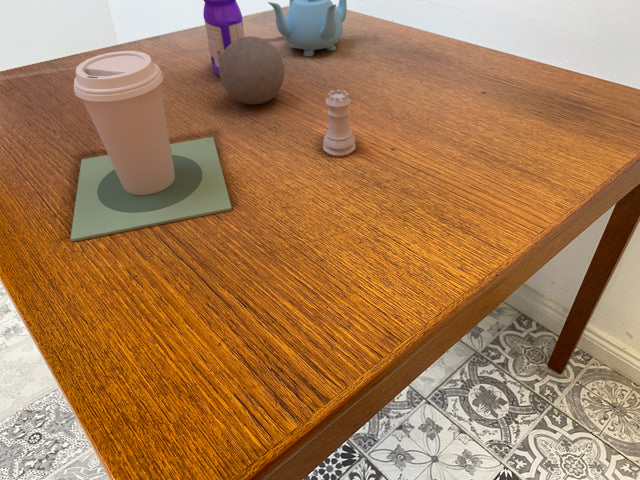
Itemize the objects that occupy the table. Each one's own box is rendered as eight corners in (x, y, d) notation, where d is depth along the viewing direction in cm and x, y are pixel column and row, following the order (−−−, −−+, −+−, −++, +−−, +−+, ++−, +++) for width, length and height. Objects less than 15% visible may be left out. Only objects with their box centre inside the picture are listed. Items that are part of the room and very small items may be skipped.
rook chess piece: (351, 159, 68) (350, 103, 63) (318, 156, 69) (315, 99, 64) (359, 143, 71) (359, 88, 66) (328, 139, 72) (326, 85, 67)
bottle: (255, 75, 91) (241, -34, 80) (226, 84, 89) (207, -28, 78) (236, 63, 96) (220, -42, 85) (208, 71, 94) (188, -36, 82)
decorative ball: (268, 83, 88) (261, 22, 82) (298, 103, 82) (293, 39, 75) (214, 99, 84) (202, 37, 78) (242, 122, 78) (232, 56, 71)
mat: (82, 161, 71) (81, 158, 70) (213, 139, 74) (213, 136, 74) (71, 242, 57) (69, 239, 57) (232, 210, 61) (231, 207, 60)
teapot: (336, 62, 94) (335, 3, 88) (268, 57, 97) (262, 0, 91) (352, 38, 104) (352, -17, 97) (290, 34, 107) (286, -19, 100)
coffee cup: (95, 184, 65) (51, 68, 56) (158, 153, 71) (128, 42, 61) (137, 212, 60) (96, 90, 51) (202, 177, 66) (176, 60, 56)
